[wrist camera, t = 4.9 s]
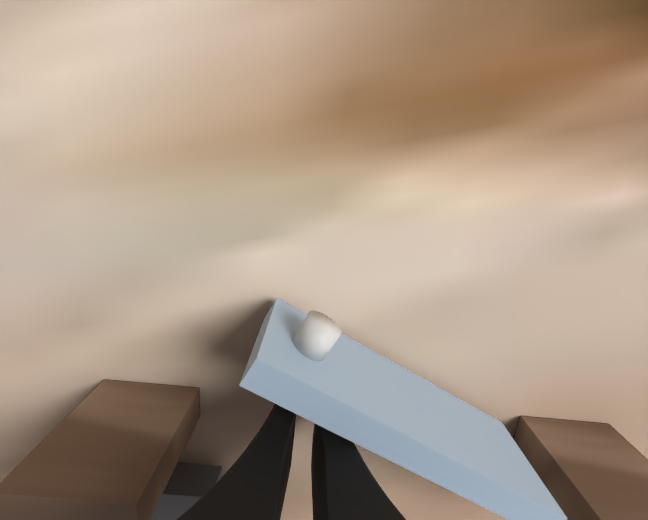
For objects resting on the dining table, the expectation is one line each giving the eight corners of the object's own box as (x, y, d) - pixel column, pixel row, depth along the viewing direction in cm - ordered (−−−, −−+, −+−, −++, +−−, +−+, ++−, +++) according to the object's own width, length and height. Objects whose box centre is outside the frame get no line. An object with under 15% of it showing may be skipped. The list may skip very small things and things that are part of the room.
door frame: (597, 450, 15) (724, 584, 10) (106, 408, 14) (-1, 531, 10) (608, 423, 15) (746, 550, 10) (104, 379, 14) (-10, 492, 9)
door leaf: (486, 438, 14) (545, 538, 11) (264, 318, 13) (238, 385, 9) (517, 405, 14) (590, 498, 10) (290, 276, 12) (275, 328, 8)
